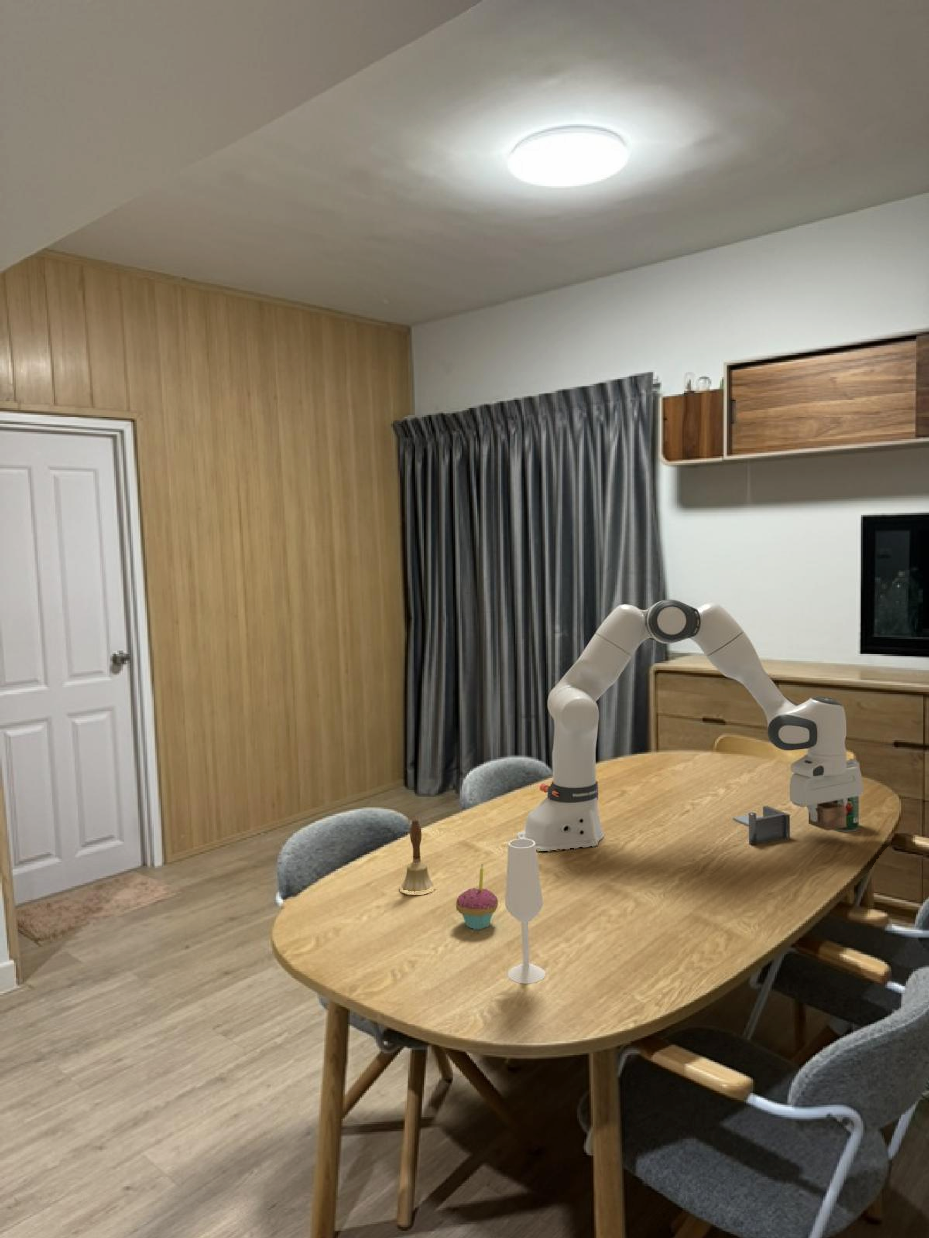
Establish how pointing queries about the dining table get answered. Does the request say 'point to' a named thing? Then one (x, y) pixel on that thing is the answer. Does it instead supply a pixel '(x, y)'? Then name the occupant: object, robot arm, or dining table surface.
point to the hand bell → (416, 864)
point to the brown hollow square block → (830, 816)
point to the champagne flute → (523, 901)
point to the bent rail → (768, 826)
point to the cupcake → (477, 905)
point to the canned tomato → (851, 815)
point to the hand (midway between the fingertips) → (827, 818)
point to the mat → (744, 819)
